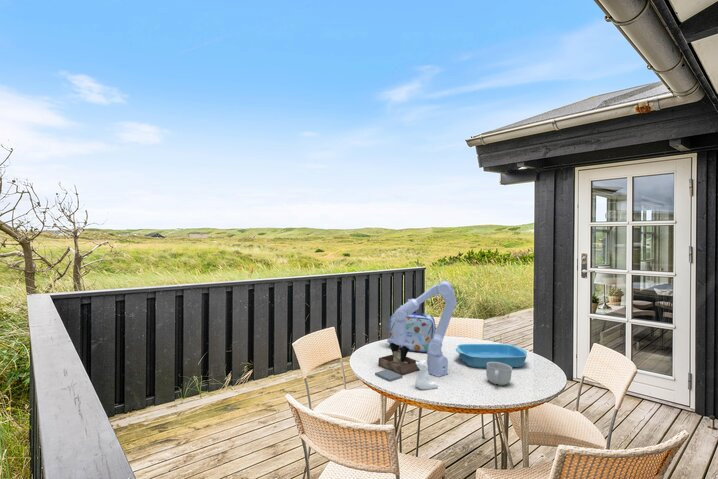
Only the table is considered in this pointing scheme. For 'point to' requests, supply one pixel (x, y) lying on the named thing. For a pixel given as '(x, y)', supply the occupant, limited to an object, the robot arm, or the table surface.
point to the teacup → (498, 373)
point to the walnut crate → (398, 365)
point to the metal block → (397, 357)
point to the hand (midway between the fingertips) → (399, 360)
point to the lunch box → (416, 331)
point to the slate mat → (388, 375)
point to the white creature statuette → (424, 377)
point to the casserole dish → (491, 354)
